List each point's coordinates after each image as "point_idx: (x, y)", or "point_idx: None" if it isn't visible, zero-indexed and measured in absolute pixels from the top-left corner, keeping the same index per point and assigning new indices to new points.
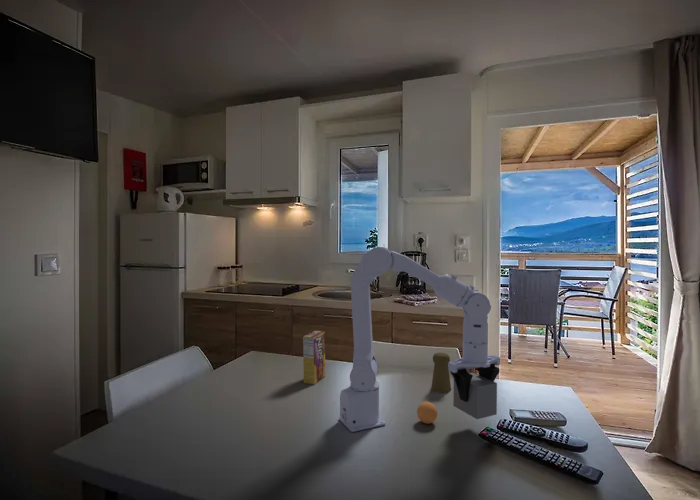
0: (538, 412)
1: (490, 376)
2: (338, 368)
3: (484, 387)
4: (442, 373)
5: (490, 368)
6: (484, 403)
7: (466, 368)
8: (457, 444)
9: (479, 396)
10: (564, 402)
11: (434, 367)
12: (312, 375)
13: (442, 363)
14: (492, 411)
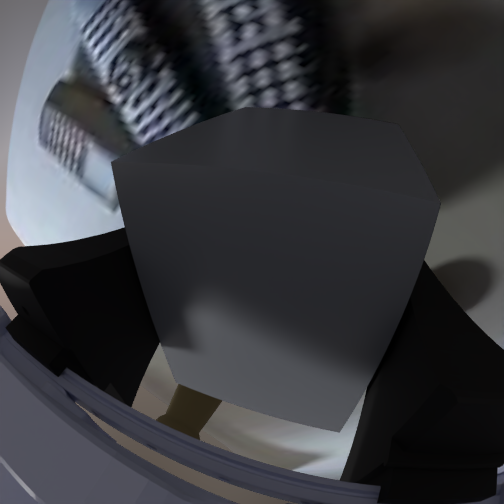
0: (68, 160)
1: (103, 268)
2: (331, 476)
3: (307, 167)
4: (196, 404)
5: (48, 325)
6: (332, 127)
7: (347, 494)
8: (475, 141)
9: (389, 155)
10: (19, 173)
11: (203, 426)
12: None
13: (184, 428)
14: (269, 111)
